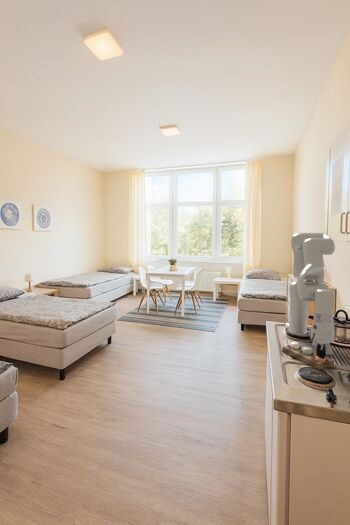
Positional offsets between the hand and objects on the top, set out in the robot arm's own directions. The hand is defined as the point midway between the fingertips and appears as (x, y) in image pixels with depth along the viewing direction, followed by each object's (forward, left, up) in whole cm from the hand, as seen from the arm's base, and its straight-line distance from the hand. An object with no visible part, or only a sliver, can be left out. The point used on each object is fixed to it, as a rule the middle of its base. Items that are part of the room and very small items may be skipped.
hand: (320, 357), depth 118 cm
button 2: (-7, 0, -2) cm, 7 cm away
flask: (-8, +14, -4) cm, 17 cm away
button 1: (-14, 0, -2) cm, 14 cm away
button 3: (0, 0, -3) cm, 3 cm away
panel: (-7, 0, -3) cm, 8 cm away
